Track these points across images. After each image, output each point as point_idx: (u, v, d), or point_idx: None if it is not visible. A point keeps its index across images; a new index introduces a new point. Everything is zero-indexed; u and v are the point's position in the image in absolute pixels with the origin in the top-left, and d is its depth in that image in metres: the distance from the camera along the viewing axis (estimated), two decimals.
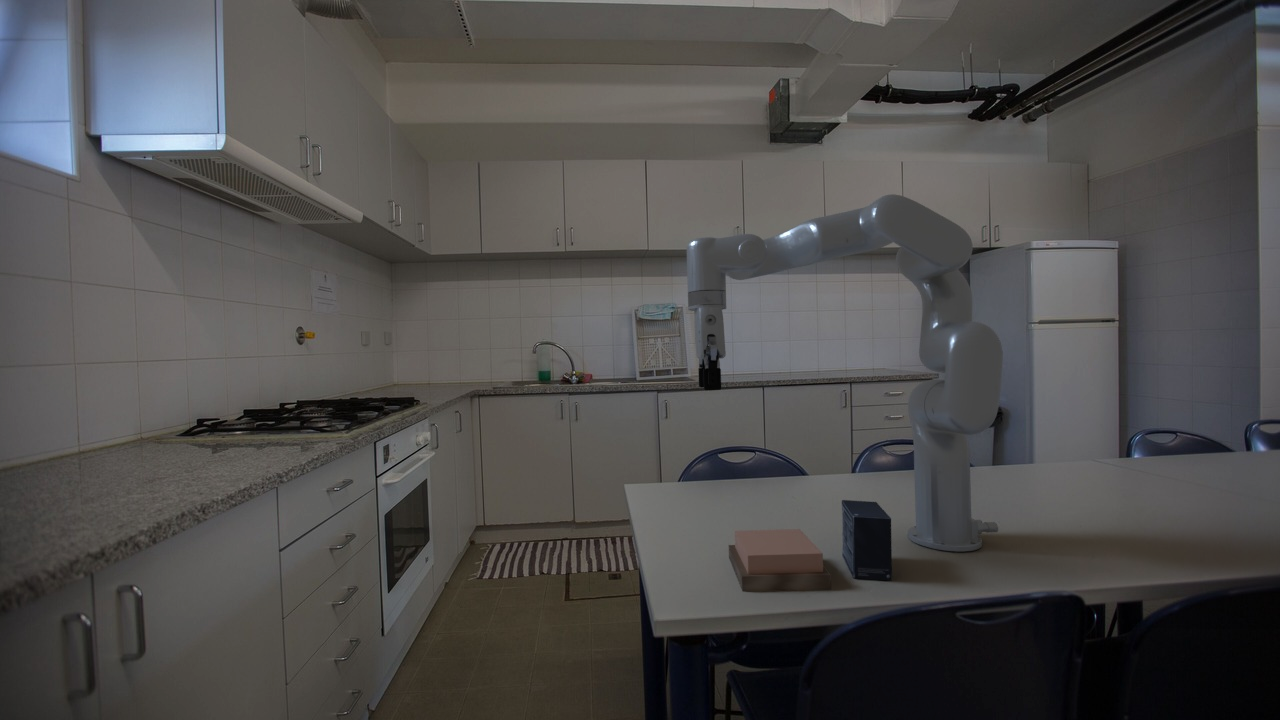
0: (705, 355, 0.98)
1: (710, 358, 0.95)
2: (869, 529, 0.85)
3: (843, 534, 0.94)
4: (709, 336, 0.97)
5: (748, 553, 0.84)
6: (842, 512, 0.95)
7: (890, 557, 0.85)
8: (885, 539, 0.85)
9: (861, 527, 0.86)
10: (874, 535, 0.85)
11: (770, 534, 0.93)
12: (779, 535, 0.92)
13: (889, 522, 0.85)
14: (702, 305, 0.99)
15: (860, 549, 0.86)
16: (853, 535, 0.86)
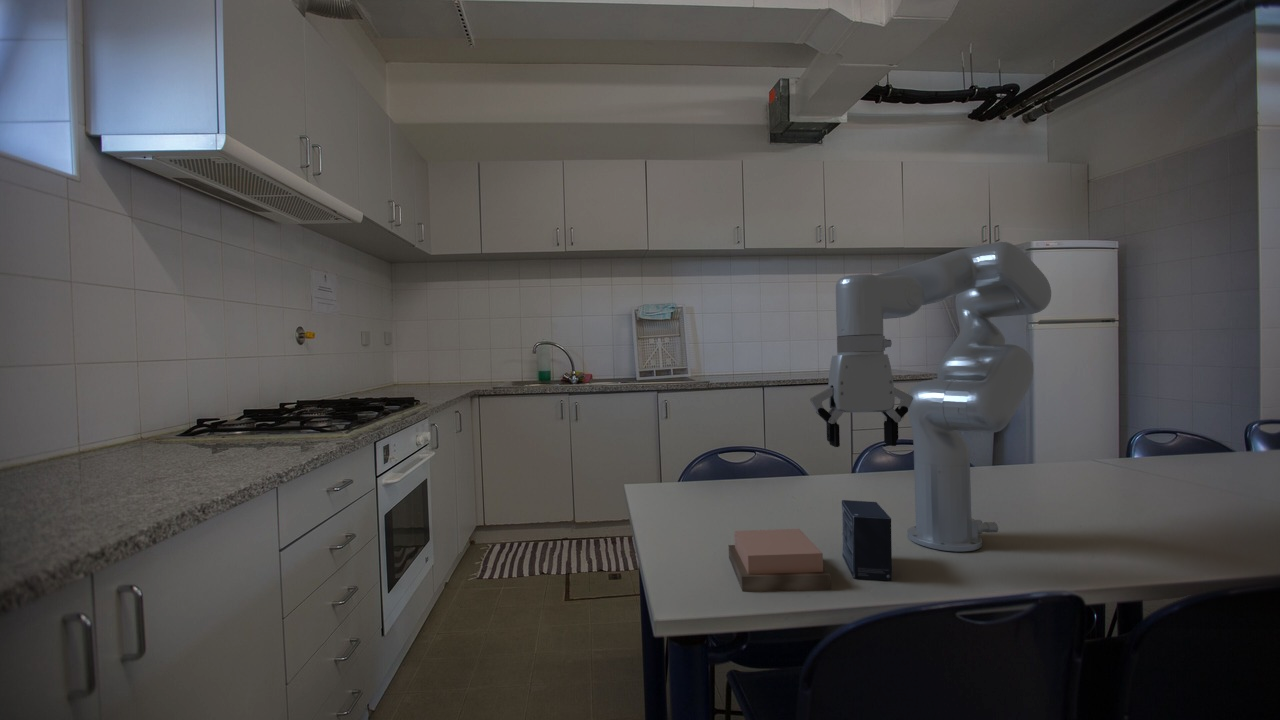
0: None
1: (907, 410, 0.89)
2: (869, 529, 0.85)
3: (843, 534, 0.94)
4: None
5: (748, 553, 0.84)
6: (842, 512, 0.95)
7: (890, 557, 0.85)
8: (885, 539, 0.85)
9: (861, 527, 0.86)
10: (874, 535, 0.85)
11: (770, 534, 0.93)
12: (779, 535, 0.92)
13: (889, 522, 0.85)
14: (883, 351, 0.89)
15: (860, 549, 0.86)
16: (853, 535, 0.86)
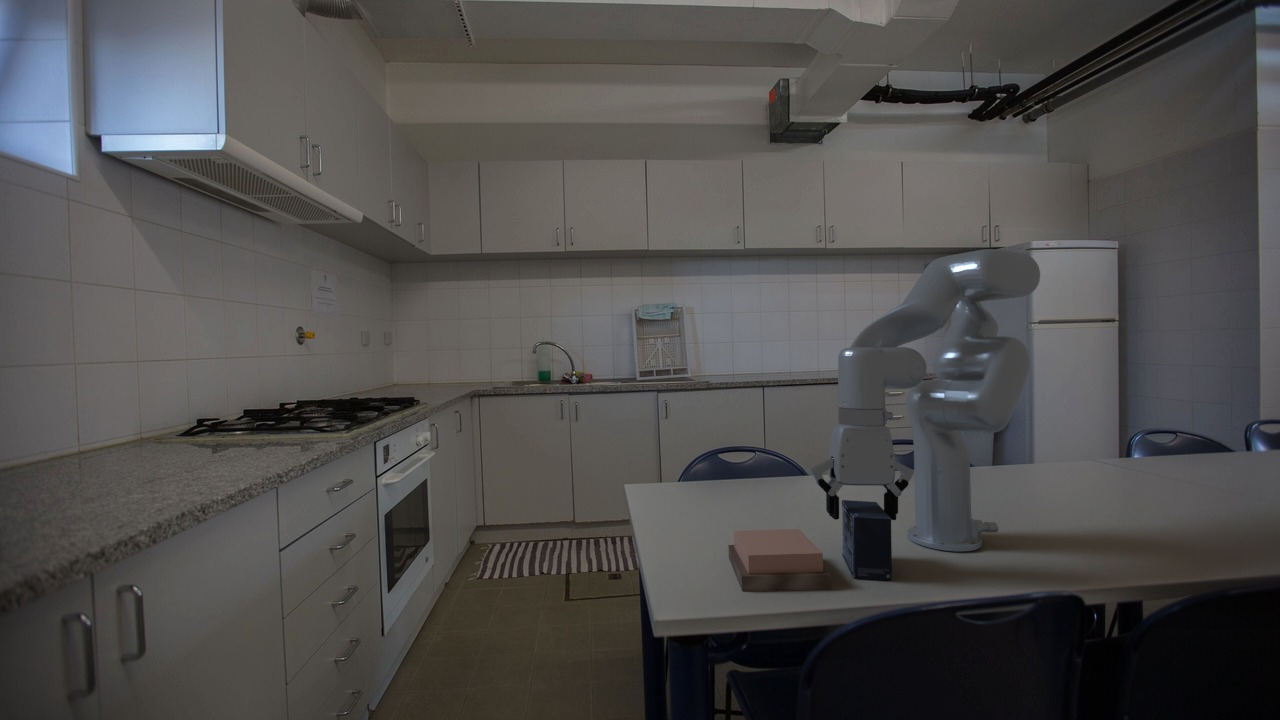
0: None
1: (907, 484, 0.89)
2: (869, 529, 0.85)
3: (843, 534, 0.94)
4: None
5: (748, 553, 0.84)
6: (842, 512, 0.95)
7: (890, 557, 0.85)
8: (885, 539, 0.85)
9: (861, 527, 0.86)
10: (874, 535, 0.85)
11: (769, 534, 0.93)
12: (778, 535, 0.92)
13: (889, 522, 0.85)
14: None
15: (860, 549, 0.86)
16: (853, 535, 0.86)
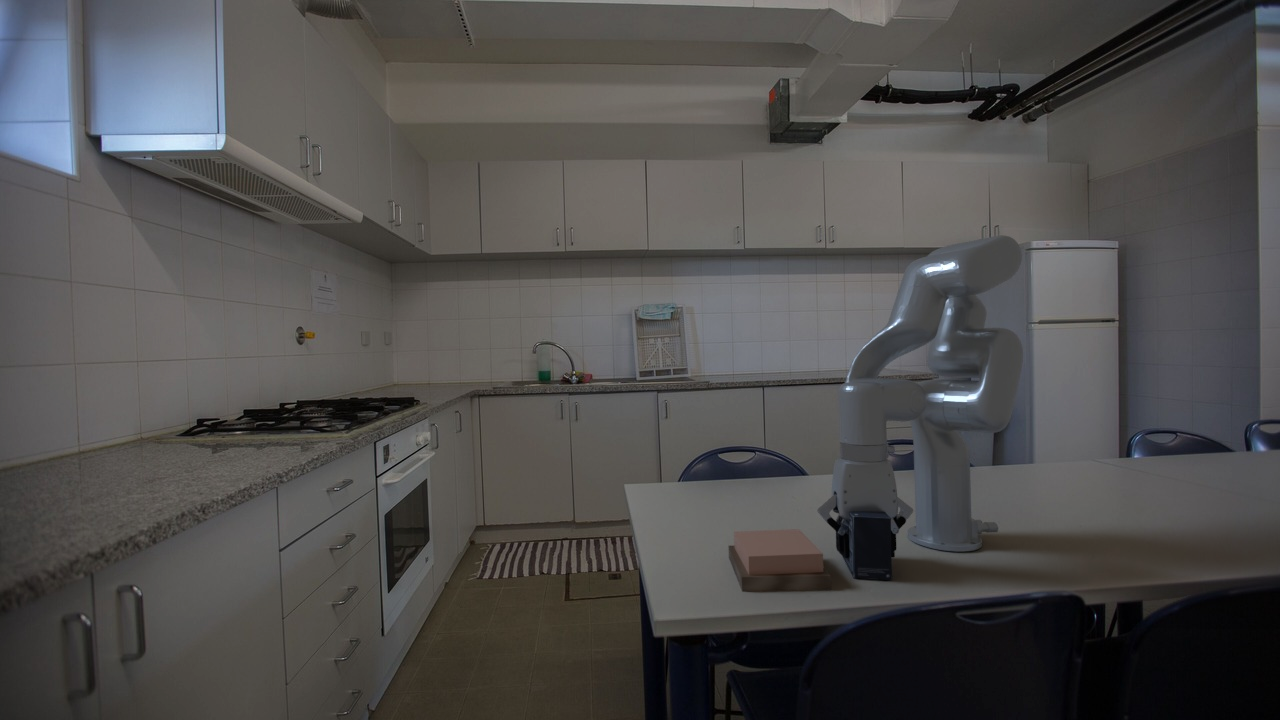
0: None
1: None
2: (868, 529, 0.85)
3: None
4: None
5: (749, 554, 0.84)
6: None
7: (890, 557, 0.85)
8: (884, 539, 0.85)
9: (861, 527, 0.86)
10: (874, 535, 0.85)
11: (770, 535, 0.93)
12: (779, 536, 0.92)
13: (889, 522, 0.85)
14: None
15: (860, 549, 0.86)
16: (853, 535, 0.86)
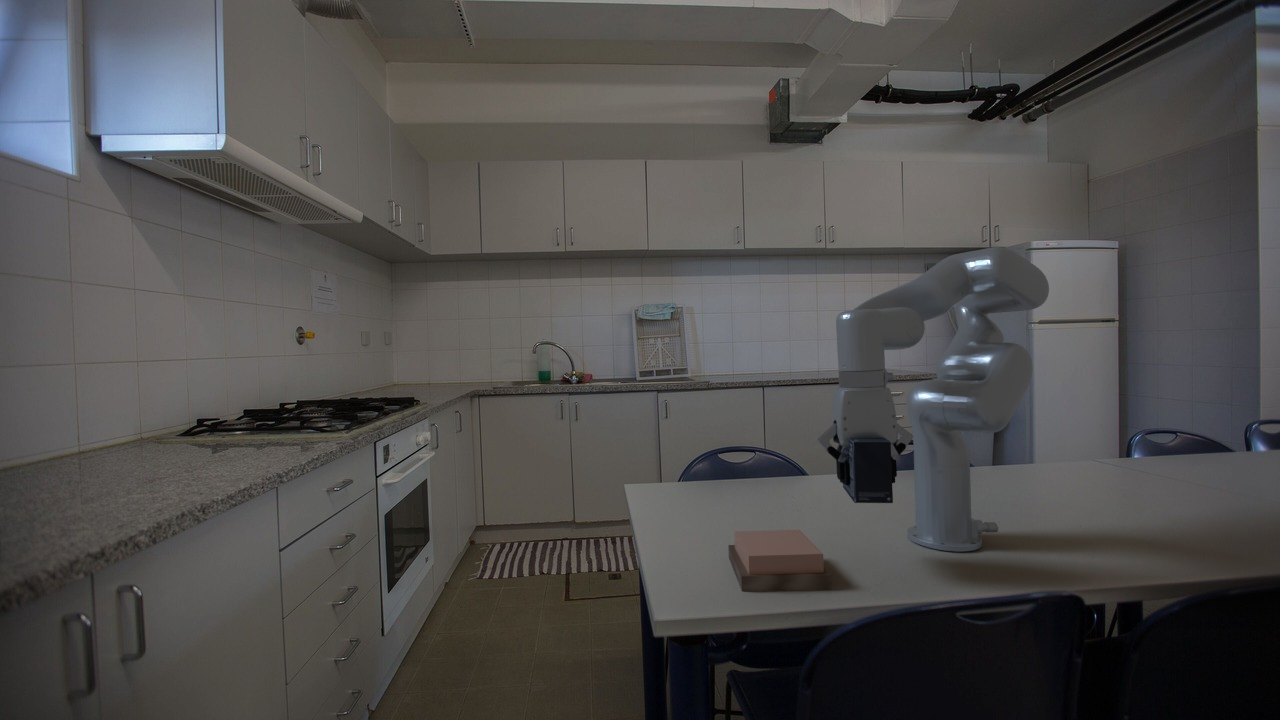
0: None
1: None
2: (869, 453, 0.86)
3: None
4: None
5: (749, 553, 0.84)
6: None
7: (890, 480, 0.85)
8: (885, 462, 0.85)
9: (861, 452, 0.86)
10: (874, 459, 0.85)
11: (770, 535, 0.93)
12: (779, 536, 0.92)
13: (889, 445, 0.85)
14: (885, 385, 0.89)
15: (860, 473, 0.86)
16: (853, 460, 0.86)
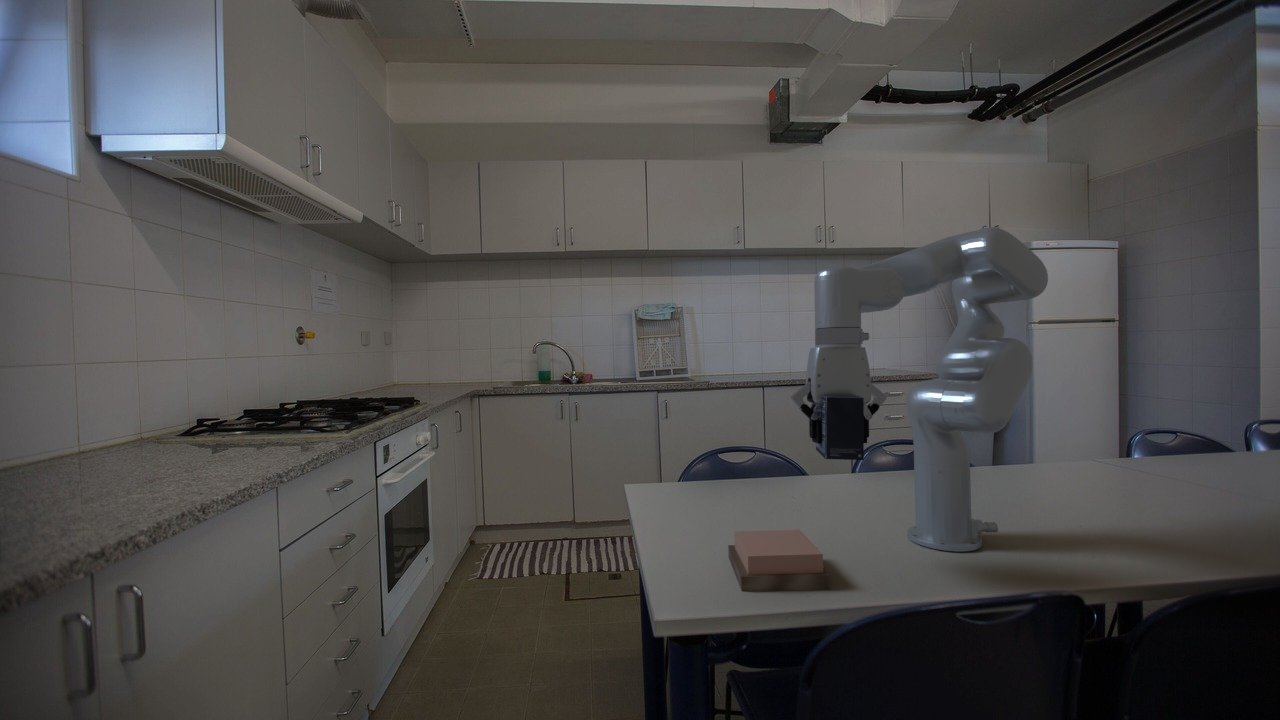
0: None
1: (878, 407, 0.89)
2: (841, 409, 0.85)
3: None
4: None
5: (748, 554, 0.84)
6: None
7: (862, 436, 0.84)
8: (857, 418, 0.84)
9: (834, 407, 0.85)
10: (846, 415, 0.85)
11: (770, 535, 0.93)
12: (779, 536, 0.92)
13: (861, 401, 0.84)
14: None
15: (832, 429, 0.85)
16: (826, 416, 0.86)
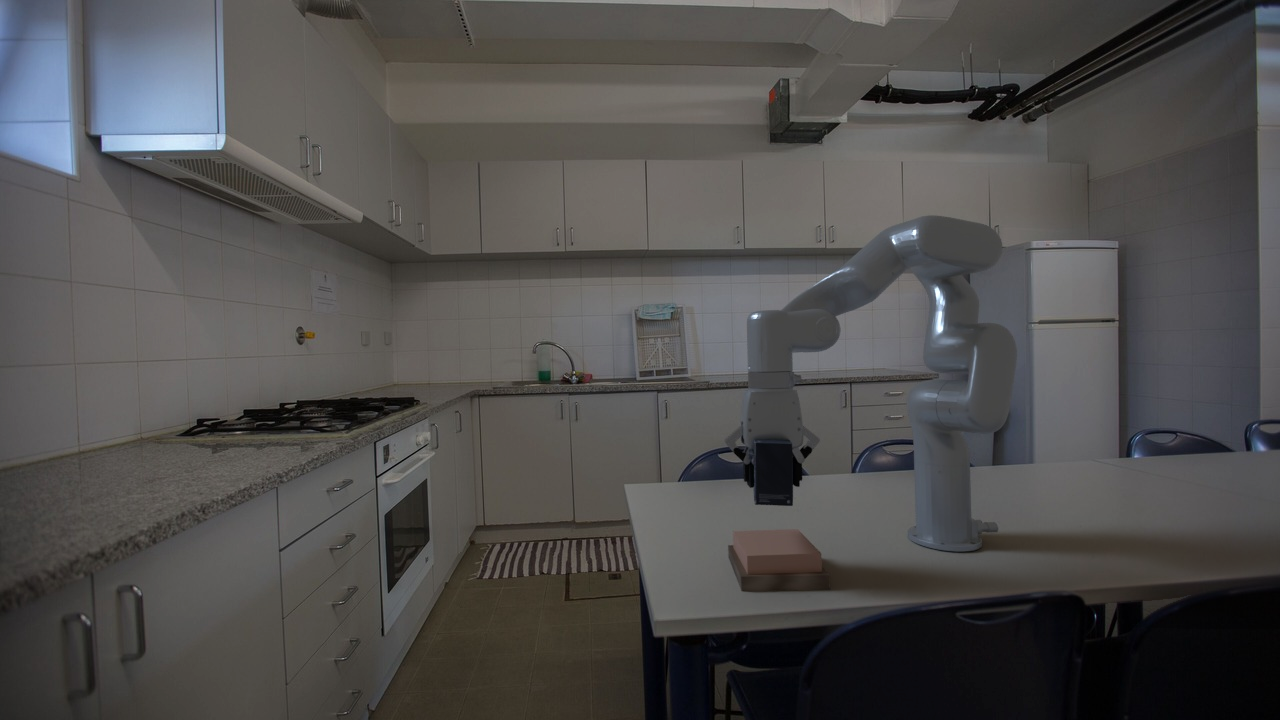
0: None
1: (811, 450, 0.89)
2: (770, 455, 0.85)
3: None
4: None
5: (747, 553, 0.84)
6: None
7: (791, 482, 0.84)
8: (785, 464, 0.84)
9: (762, 453, 0.85)
10: (775, 461, 0.84)
11: (768, 534, 0.93)
12: (777, 535, 0.92)
13: (790, 447, 0.84)
14: (792, 388, 0.88)
15: (761, 475, 0.85)
16: (755, 461, 0.85)
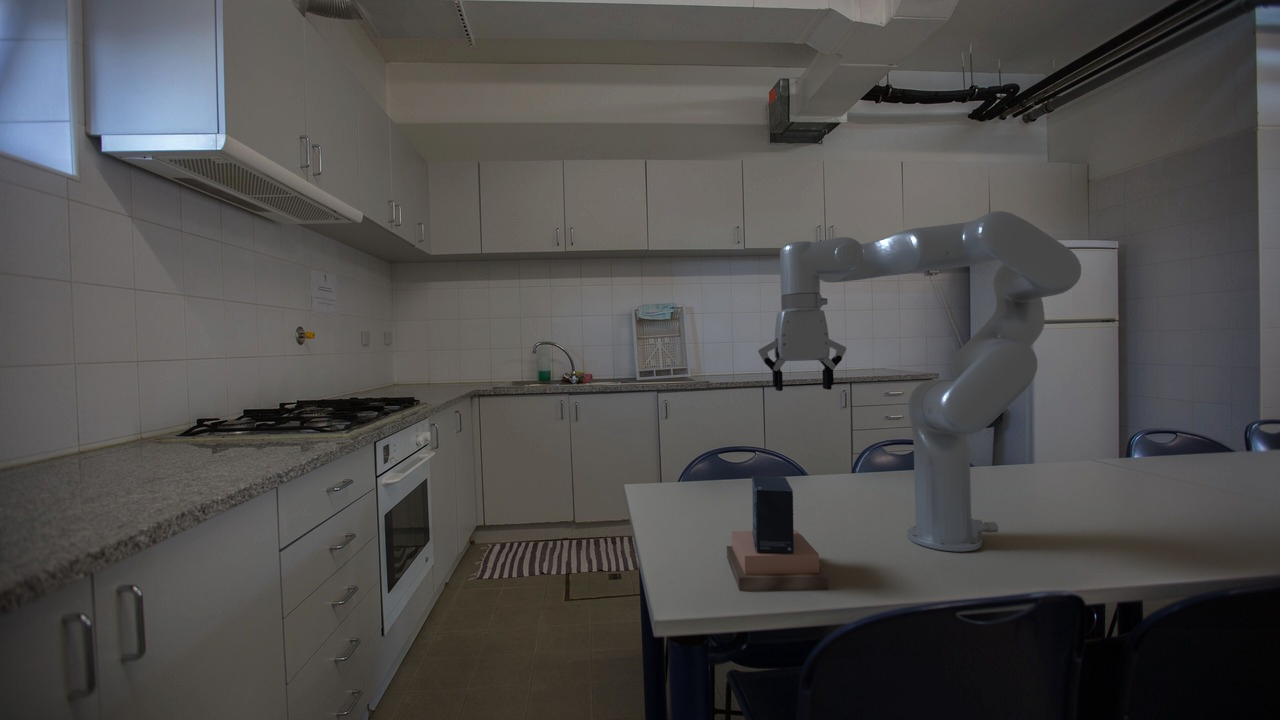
0: None
1: (841, 359, 1.04)
2: (771, 502, 0.85)
3: None
4: None
5: (745, 554, 0.85)
6: None
7: (791, 530, 0.84)
8: (786, 511, 0.84)
9: (763, 500, 0.85)
10: (776, 508, 0.85)
11: None
12: None
13: (790, 494, 0.84)
14: (820, 308, 1.03)
15: (762, 522, 0.85)
16: (756, 508, 0.85)
